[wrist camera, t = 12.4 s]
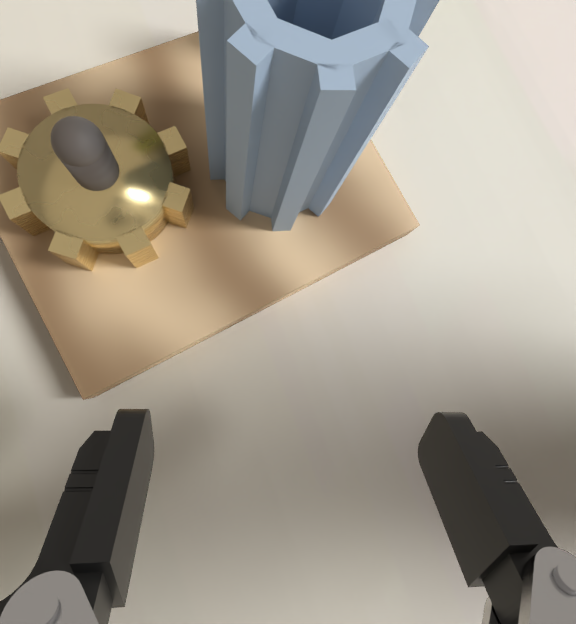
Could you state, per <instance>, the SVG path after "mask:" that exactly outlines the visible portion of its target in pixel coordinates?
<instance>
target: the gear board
mask: <svg viewBox="0 0 576 624" xmlns="http://www.w3.org/2000/svg"><path fill="white" fill-rule="evenodd" d="M67 88H69V90H70V92H71V94H72V95H73V97H74V99H75V101H76V103H77V104H78V105H82V104H104V105H109V103H110V101H111V98H112V96H113V94H114V91H115V89H119V90H122V91H125V92H128V93H130V94H133V95H136V96H139V97H141V99H142V102H143V105H144V109H145V112H146V115H147V118H148V122H149V125H150V126H151V127H152V128H153V129H154V130H155V131H156V133H158V132H161V131H163V130H166V129H168V128H171V127H173V126H176V128H177V130H178V132H179V134H180V136H181V137H182V139H183V141H184V143H185V145H186V147H187V151H188V157H189V162H190V168H191V170H190V171H188V172H185V173H183V174H181V175H178V176H176V177H175V181H176V184H177V185H180V186H183V187H186V188H189V189H190V190H191V195H192V200H193V205H194V209H193V212H192V215H191V217H190V220H189V223H188V226H187V229H186V228H183V227H180V226H177V225H174V224H171V223H168V225H167V226H166V228H165V229H164V230H163V231H162V232H161V233H160V234H159V235H158V236H157V237H156V238H155V239H154V240H152V241H151V244H152V246H153V248H154V250H155V251H156V253H157V255H158V257H159V258H158V259H156V260H154V261H151V262H149V263H147V264H145V265H143V266H141V267H138V268H136V267H135V266H134V265H133V264H132V263H131V262H130V260H129V259H128V258H127V257H126V256H125V254H124V253H121V254H99V255H98V258H97V260H96V263H95V265H94V268H93V270H92V271H90V270H86V269H83V268H80V267H77V266H73V265H70V264H67V263H66V262H64V261H63V260H61V259H60V258H58V257H57V256H55V255H54V254H52V253H51V252H49V251H48V249H49V246H50V244H51V241H52V239H53V237H54V234H55V232H54V231H53V230H52V229H50V230H48V231H45V232H43V233H40V234H38V235H36V236H32V235H31V234H30V233H28V232H27V231H25V230H24V229H22V228H21V227H20V226H18V225H17V224H15V223H14V222H12V221H11V220H10V219H9V217H8V215H7V213H6V211H5V209H4V207H3V205H2V203H1V201H0V236H1V238H2V240H3V242H4V244H5V246H6V248H7V250H8V252H9V254H10V256H11V258H12V260H13V262H14V264H15V266H16V268H17V270H18V272H19V274H20V276H21V278H22V280H23V282H24V284H25V286H26V288H27V290H28V292H29V294H30V296H31V298H32V300H33V302H34V304H35V306H36V308H37V310H38V312H39V314H40V316H41V318H42V319H43V321H44V323H45V325H46V327H47V329H48V331H49V333H50V335H51V337H52V339H53V341H54V343H55V345H56V347H57V349H58V351H59V353H60V355H61V357H62V359H63V361H64V363H65V365H66V367H67V369H68V371H69V373H70V375H71V377H72V379H73V381H74V383H75V385H76V387H77V389H78V391H79V393H80V395H81V397H82V399H83V400H84V399H89V398H93V397H96V396H98V395H100V394H102V393H104V392H106V391H107V390H109V389H111V388H113V387H115V386H117V385H119V384H121V383H123V382H125V381H127V380H129V379H131V378H132V377H134V376H136V375H138V374H140V373H142V372H144V371H146V370H148V369H150V368H152V367H154V366H156V365H157V364H159V363H161V362H163V361H165V360H167V359H169V358H171V357H173V356H175V355H177V354H179V353H181V352H182V351H184V350H186V349H188V348H190V347H192V346H194V345H196V344H198V343H200V342H202V341H204V340H206V339H207V338H209V337H211V336H213V335H215V334H217V333H219V332H221V331H223V330H225V329H227V328H229V327H231V326H232V325H234V324H236V323H238V322H240V321H242V320H244V319H246V318H248V317H250V316H252V315H254V314H256V313H257V312H259V311H261V310H263V309H265V308H267V307H269V306H271V305H273V304H275V303H277V302H279V301H281V300H282V299H284V298H286V297H288V296H290V295H292V294H294V293H296V292H298V291H300V290H302V289H304V288H306V287H307V286H309V285H311V284H313V283H315V282H317V281H319V280H321V279H323V278H325V277H327V276H329V275H331V274H332V273H334V272H336V271H338V270H340V269H342V268H344V267H346V266H348V265H350V264H352V263H354V262H356V261H357V260H359V259H361V258H363V257H365V256H367V255H369V254H371V253H373V252H375V251H377V250H379V249H381V248H382V247H384V246H386V245H388V244H390V243H392V242H394V241H396V240H398V239H400V238H402V237H404V236H406V235H407V234H409V233H410V232H411V231H413V230H414V229H415V228H417V227H418V226H419V223H418V221H417V219H416V218H415V216H414V214H413V212H412V211H411V209H410V207H409V205H408V204H407V202H406V200H405V198H404V197H403V195H402V193H401V191H400V190H399V188H398V186H397V184H396V183H395V181H394V179H393V177H392V176H391V174H390V172H389V170H388V169H387V167H386V165H385V163H384V162H383V160H382V158H381V156H380V155H379V153H378V151H377V149H376V148H375V146H374V144H373V142H372V140H371V139H370V141H369V142H368V144H367V145H366V147H365V149H364V150H363V152H362V153H361V155H360V157H359V158H358V160H357V161H356V163H355V164H354V166H353V168H352V169H351V171H350V172H349V174H348V176H347V177H346V179H345V180H344V182H343V184H342V185H341V187H340V188H339V190H338V191H337V193H336V195H335V196H334V198H333V199H332V201H331V203H330V204H329V205H328V207H327V208H326V209H325V210H324V211H323V212H322V214H321V215H320V216H319V217H318V216H317V215H316V214H314V213H313V212H312V211H311V210H310V209H309V208H308V209H305V210H303V211H301V212H299V214H298V216H297V218H296V220H295V222H294V224H293V226H292V228H291V230H290V231H272V223H271V218H269V217H266V216H264V215H261V214H258V213H255V212H252V211H249V212H248V213H247V214H246V215H245V216H244V217H243V218H242V220H241V221H240V220H239V219H238V218H237V217H235V216H234V215H233V214H232V213H231V212H229V211H228V210H227V209H226V181H225V179H218V180H210V170H209V158H208V146H207V133H206V120H205V107H204V95H203V82H202V69H201V56H200V44H199V31H198V32H195V33H192V34H189V35H187V36H184V37H181V38H178V39H175V40H172V41H169V42H166V43H163V44H160V45H158V46H155V47H152V48H149V49H146V50H143V51H140V52H137V53H134V54H131V55H129V56H126V57H123V58H120V59H117V60H114V61H111V62H108V63H105V64H102V65H100V66H97V67H94V68H91V69H88V70H85V71H82V72H79V73H76V74H74V75H71V76H68V77H65V78H62V79H59V80H56V81H53V82H50V83H47V84H45V85H42V86H39V87H36V88H33V89H30V90H27V91H24V92H21V93H18V94H16V95H13V96H10V97H7V98H4V99H1V100H0V143H1V141H2V138H3V136H4V134H5V132H6V130H7V128H8V127H9V128H12V129H15V130H18V131H21V132H24V133H26V134H30V133H31V131H32V130H33V129H34V128H35V127H36V126H37V125H38V124H39V123H40V122H42V121H43V120H44V119H45V118H47V117H48V116H50V115H52V114H51V112H50V110H49V108H48V107H47V105H46V103H45V101H44V99H43V97H44V96H47V95H50V94H53V93H55V92H58V91H61V90H64V89H67ZM50 139H51V145H52V148H53V150H54V152H55V154H56V155H57V157H58V158H59V159H60V161H61V162H62V163H63V164H64V166H65V167H66V168H67V169H68V171H69V172H70V173H71V175H72V176H73V177H74V178H75V180H76V181H77V182H78V183H79V184H80V185H81V186H82V187H84V188H85V189H88V190H91V191H102V190H105V189H108V188H110V187H111V186H112V185H114V183H115V182H116V181H117V179H118V177H119V165H118V163H117V161H116V159H115V157H114V155H113V153H112V151H111V149H110V147H109V145H108V143H107V141H106V139H105V138H104V136H103V134H102V132H101V131H100V129H99V128H98V127H97V126H96V125H95V124H94V123H92V122H91V121H89V120H88V119H85V118H83V117H78V116H68V117H65V118H62V119H60V120H59V121H58V122H57V123H56V124H55V125H54V127H53V128H52V131H51V138H50ZM18 187H19V184H18V177H17V170H16V169H15V168H14V167H13V166H12V165H11V164H10V163H9V162H8V161H7V160H6V159H5V158H4V157H3V156H2V155H1V154H0V194H3V193H5V192H8V191H10V190H13V189H15V188H18Z"/></svg>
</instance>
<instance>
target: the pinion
mask: <svg viewBox="0 0 576 624" xmlns="http://www.w3.org/2000/svg"><path fill="white" fill-rule="evenodd" d="M438 2H439V0H196V5H197V18H198V31H199V44H200V56H201V69H202V82H203V95H204V107H205V120H206V133H207V146H208V158H209V170H210V180H218V179H225V181H226V209H227V210H228V211H229V212H231V213H232V214H233V215H234V216H235V217H237V218H238V219H239V220H240V221H241V220H242V218H243V217H244V216H245V215H246V214H247V213H248V212H249V211H252V212H255V213H258V214H261V215H264V216H266V217H269V218H271V223H272V231H290V230H291V228H292V226H293V224H294V222H295V220H296V218H297V216H298V214H299V212H301V211H303V210H305V209H308V208H309V209H310V210H311V211H312V212H313V213H314V214H316V215H317V216H318V217H319V216H320V215H321V214H322V212H323V211H324V210H325V209H326V208H327V207H328V205H329V204H330V203H331V201H332V199H333V198H334V196H335V195H336V193H337V191H338V190H339V188H340V187H341V185H342V184H343V182H344V180H345V179H346V177H347V176H348V174H349V172H350V171H351V169H352V168H353V166H354V164H355V163H356V161H357V160H358V158H359V157H360V155H361V153H362V152H363V150H364V149H365V147H366V145H367V144H368V142H369V141H370V139H371V137H372V136H373V134H374V133H375V131H376V130H377V128H378V126H379V125H380V123H381V122H382V120H383V118H384V117H385V115H386V114H387V112H388V110H389V109H390V107H391V106H392V104H393V102H394V101H395V99H396V98H397V96H398V95H399V93H400V91H401V90H402V88H403V87H404V85H405V83H406V82H407V80H408V79H409V77H410V75H411V74H412V72H413V71H414V69H415V68H416V66H417V64H418V63H419V61H420V60H421V58H422V56H423V55H424V53H425V52H426V50H427V48H428V47H429V46H428V45H427V44H426V43H425V42H423V41H422V40H421V39H420V38H419V37H418V36H419V35H420V33H421V31H422V29H423V28H424V26H425V24H426V22H427V21H428V19H429V17H430V16H431V14H432V12H433V10H434V9H435V7H436V5H437V4H438Z"/></svg>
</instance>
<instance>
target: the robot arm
mask: <svg viewBox="0 0 576 624" xmlns="http://www.w3.org/2000/svg"><path fill="white" fill-rule="evenodd" d="M153 457H154V440H153V432H152V424H151V416H150V411H149V409H119V410H118V412H117V414H116V416H115V419H114V423H113V426H112V429H111V431H94V432H93V433H92V435H91V436H90V437H89V438H88V439H87V440H86V442H85V443H84V444H83V445H82V446H81V447H80V449H79V451H78V453H77V456H76V459H75V461H74V464H73V467H72V469H71V474H70V475H69V478H68V480H67V483H66V486H65V491H64V492H63V494H62V496H61V499H60V502H59V504H58V507H57V510H56V512H55V515H54V518H53V520H52V523H51V526H50V528H49V531H48V534H47V537H46V539H45V542H44V545H43V547H42V550H41V553H40V555H39V558H38V560H37V563H36V565H35V567H34V568H33V570H32V572H31V573H30V575H29V576H28V577H27V579H26V580H25V581H24V582H23V583H22V584H21V585H20V587H19V588H17V589H16V590H15V591H14V592H13V593H12V594H11V595H9V596H8V597H6V598H5V599H4V600H2V601H0V624H108V621H109V617H110V612H111V608H114V607H125V602H126V597H127V592H128V587H129V582H130V577H131V572H132V567H133V562H134V557H135V552H136V547H137V542H138V537H139V532H140V526H141V521H142V516H143V511H144V506H145V501H146V496H147V491H148V486H149V481H150V476H151V471H152V465H153ZM418 458H419V463H420V466H421V468H422V471H423V473H424V476H425V478H426V481H427V484H428V486H429V489H430V491H431V494H432V496H433V499H434V501H435V504H436V506H437V509H438V511H439V514H440V517H441V519H442V522H443V524H444V527H445V529H446V532H447V534H448V537H449V539H450V542H451V545H452V547H453V550H454V552H455V555H456V557H457V560H458V562H459V565H460V567H461V570H462V572H463V575H464V578H465V580H466V583H467V585H468V587H479V586H485V588H486V591H487V593H488V595H489V597H488V598H487V600H486V603H485V607H484V613H483V619H482V624H576V557H575V556H573V555H572V554H570V553H569V552H567V551H565V550H563V549H560V548H558V547H557V546H556V544H555V543H554V541H553V540H552V538H551V537H550V535H549V533H548V532H547V530H546V528H545V527H544V525H543V523H542V522H541V520H540V518H539V516H538V515H537V513H536V511H535V510H534V508H533V506H532V505H531V503H530V501H529V499H528V498H527V496H526V494H525V493H524V491H523V489H522V488H521V486H520V484H519V483H517V479H516V477H515V476H514V474H513V472H512V470H511V469H509V468H508V464H507V462H506V460H505V459H504V457H503V455H502V453H501V452H500V450H499V448H498V447H497V446H496V445H495V444H494V443H493V442H492V441H491V440H490V439H489V438H488V437H487V436H486V435H485V434H484V433H483V432H476V430H475V428H474V427H473V425H472V423H471V421H470V419H469V418H468V417H467V415H466V414H464V413H460V412H438V413H435V414H434V416H433V418H432V419H431V421H430V423H429V425H428V427H427V429H426V431H425V433H424V435H423V437H422V439H421V441H420V443H419V446H418Z"/></svg>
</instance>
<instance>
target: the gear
mask: <svg viewBox="0 0 576 624" xmlns="http://www.w3.org/2000/svg"><path fill="white" fill-rule="evenodd" d="M43 99H44V101H45V103H46V105H47V107H48V108H49V110H50V112H51V114H52V115H50V116H48V117H47V118H45V119H44V120H43V121H42V122H40V123H39V124H38V125H37V126H36V127H35V128H34V129H33V130H32V131H31V133H30V134H26V133H24V132H21V131H18V130H15V129H12V128H9V127H8V128H7V130H6V132H5V134H4V136H3V138H2V141H1V143H0V154H1V155H2V156H3V157H4V158H5V159H6V160H7V161H8V162H9V163H10V164H11V165H12V166H13V167H14V168H15V169H16V170H17V177H18V184H19V187H18V188H15V189H13V190H10V191H8V192H5V193H3V194H0V201H1V203H2V205H3V207H4V209H5V211H6V213H7V215H8V217H9V219H10V220H11V221H12V222H14V223H15V224H17V225H18V226H20V227H21V228H22V229H24V230H25V231H27V232H28V233H30V234H31V235H32V236H36V235H38V234H40V233H43V232H45V231H48V230H50V229H52V230H53V231H54V232H55V234H54V237H53V239H52V241H51V244H50V246H49V249H48V251H49V252H51V253H52V254H54V255H55V256H57V257H58V258H60V259H61V260H63V261H64V262H66V263H67V264H70V265H73V266H77V267H80V268H83V269H86V270H90V271H92V270H93V268H94V265H95V263H96V260H97V258H98V255H99V254H121V253H124V254H125V256H126V257H127V258H128V259H129V260H130V262H131V263H132V264H133V265H134V266H135V267H136V268H138V267H141V266H143V265H145V264H147V263H149V262H151V261H154V260H156V259H158V258H159V257H158V255H157V253H156V251H155V250H154V248H153V246H152V244H151V241H152V240H154V239H155V238H156V237H157V236H158V235H159V234H160V233H161V232H162V231H163V230H164V229H165V228H166V226H167V225H168V223H171V224H174V225H177V226H180V227H183V228H186V229H187V226H188V223H189V220H190V217H191V215H192V212H193V209H194V205H193V200H192V195H191V190H190V189H189V188H186V187H183V186H180V185H177V184H176V181H175V177H176V176H178V175H181V174H183V173H185V172H188V171H190V170H191V168H190V162H189V157H188V151H187V147H186V145H185V143H184V141H183V139H182V137H181V136H180V134H179V132H178V130H177V128H176V126H173V127H171V128H168V129H166V130H163V131H161V132H158V133H156V131H155V130H154V129H153V128H152V127H151V126H150V125H149V122H148V118H147V115H146V112H145V109H144V105H143V102H142V99H141V97H139V96H136V95H133V94H130V93H128V92H125V91H122V90H119V89H115V91H114V94H113V96H112V98H111V101H110V103H109V105H104V104H82V105H78V104H77V103H76V101H75V99H74V97H73V95H72V94H71V92H70V90H69V88H67V89H64V90H61V91H58V92H55V93H53V94H50V95H47V96H44V97H43ZM68 116H78V117H83V118H85V119H88V120H89V121H91V122H92V123H94V124H95V125H96V126H97V127H98V128H99V129H100V131H101V132H102V134H103V136H104V138H105V139H106V141H107V143H108V145H109V147H110V149H111V151H112V153H113V155H114V157H115V159H116V161H117V163H118V165H119V177H118V179H117V181H116V182H115V183H114V185H112V186H111V187H110V188H108V189H105V190H102V191H91V190H88V189H85V188H84V187H82V186H81V185H80V184H79V183H78V182H77V181H76V180H75V178H74V177H73V176H72V175H71V173H70V172H69V171H68V169H67V168H66V167H65V166H64V164H63V163H62V162H61V161H60V159H59V158H58V157H57V155H56V154H55V152H54V150H53V148H52V145H51V139H50V138H51V131H52V128H53V127H54V125H55V124H56V123H57V122H58V121H59V120H60V119H62V118H65V117H68Z"/></svg>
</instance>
